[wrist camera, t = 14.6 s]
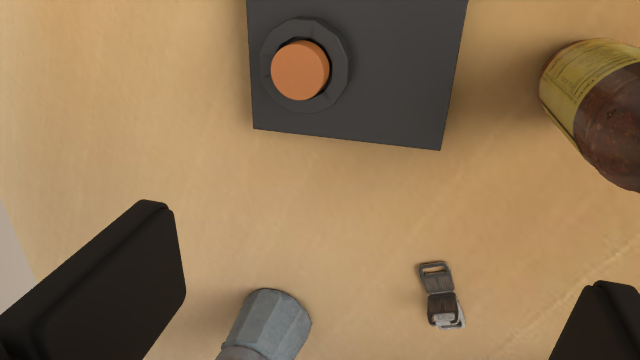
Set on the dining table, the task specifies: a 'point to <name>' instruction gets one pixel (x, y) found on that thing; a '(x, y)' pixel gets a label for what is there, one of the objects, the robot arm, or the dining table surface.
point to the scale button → (300, 70)
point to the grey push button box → (360, 67)
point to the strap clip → (442, 298)
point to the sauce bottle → (598, 105)
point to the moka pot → (267, 328)
